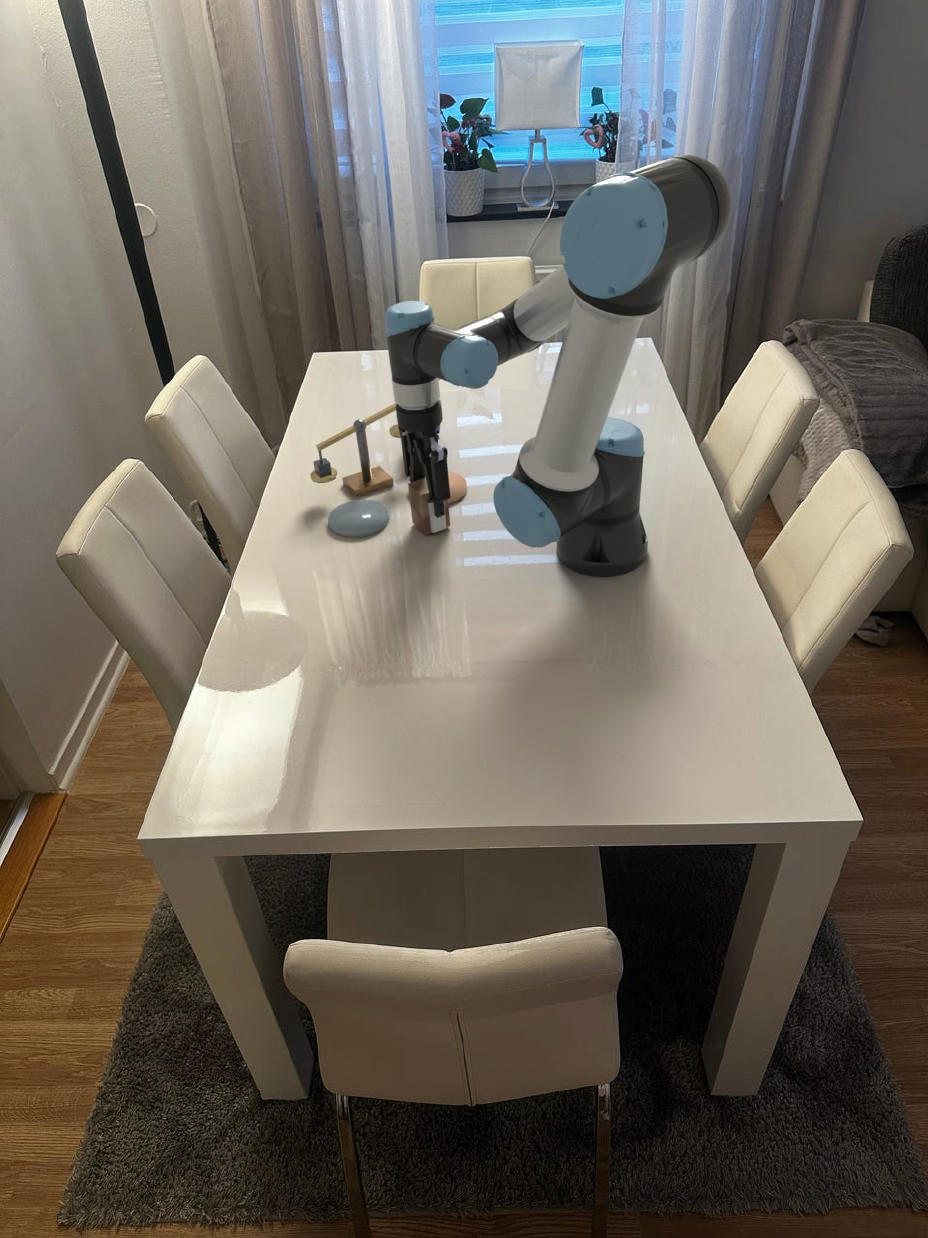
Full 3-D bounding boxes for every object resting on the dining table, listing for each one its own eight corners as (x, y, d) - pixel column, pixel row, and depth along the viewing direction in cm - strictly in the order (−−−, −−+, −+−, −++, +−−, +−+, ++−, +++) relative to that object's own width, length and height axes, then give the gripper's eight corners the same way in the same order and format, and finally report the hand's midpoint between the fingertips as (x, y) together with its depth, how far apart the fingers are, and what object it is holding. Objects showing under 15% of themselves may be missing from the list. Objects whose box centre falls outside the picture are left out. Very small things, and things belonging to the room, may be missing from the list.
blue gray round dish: (399, 524, 161) (398, 519, 160) (343, 544, 157) (342, 538, 156) (373, 499, 168) (372, 493, 168) (319, 517, 165) (318, 511, 164)
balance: (425, 474, 175) (418, 404, 165) (322, 508, 167) (308, 437, 158) (411, 462, 179) (403, 393, 170) (310, 495, 171) (296, 424, 162)
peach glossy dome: (477, 494, 168) (477, 488, 167) (426, 512, 164) (425, 506, 163) (449, 470, 175) (448, 465, 174) (399, 487, 171) (398, 481, 171)
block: (450, 525, 159) (446, 486, 154) (425, 534, 157) (421, 495, 152) (437, 514, 162) (433, 475, 157) (412, 522, 160) (407, 483, 155)
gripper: (465, 413, 140) (474, 538, 154) (413, 377, 153) (426, 495, 167) (423, 426, 137) (436, 552, 152) (373, 389, 150) (390, 508, 164)
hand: (431, 522), depth 159 cm, fingers closed on block, 5 cm apart
